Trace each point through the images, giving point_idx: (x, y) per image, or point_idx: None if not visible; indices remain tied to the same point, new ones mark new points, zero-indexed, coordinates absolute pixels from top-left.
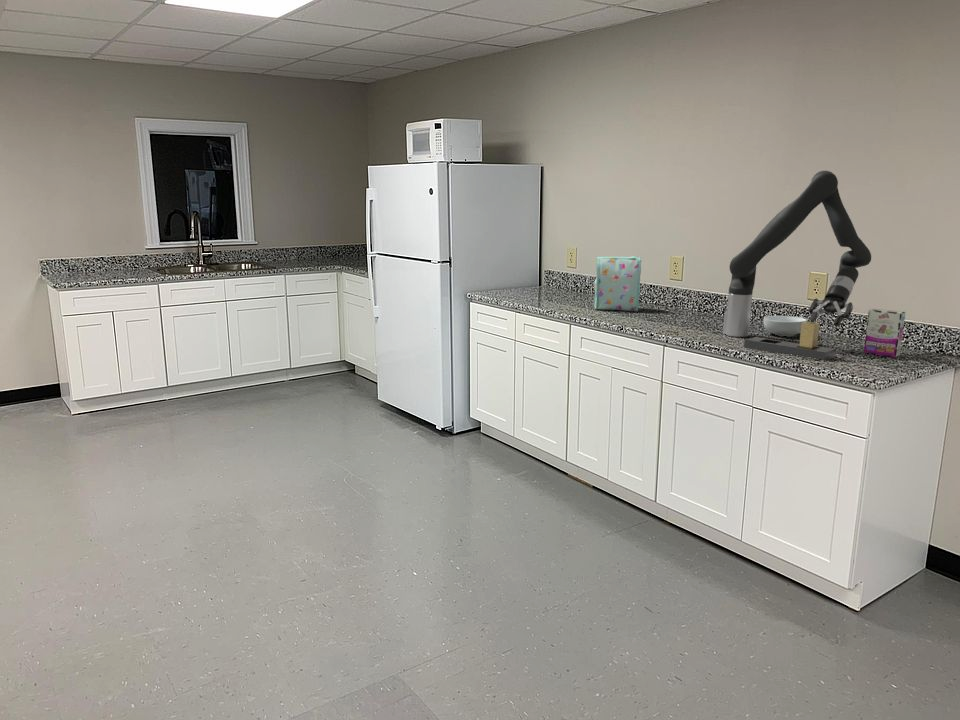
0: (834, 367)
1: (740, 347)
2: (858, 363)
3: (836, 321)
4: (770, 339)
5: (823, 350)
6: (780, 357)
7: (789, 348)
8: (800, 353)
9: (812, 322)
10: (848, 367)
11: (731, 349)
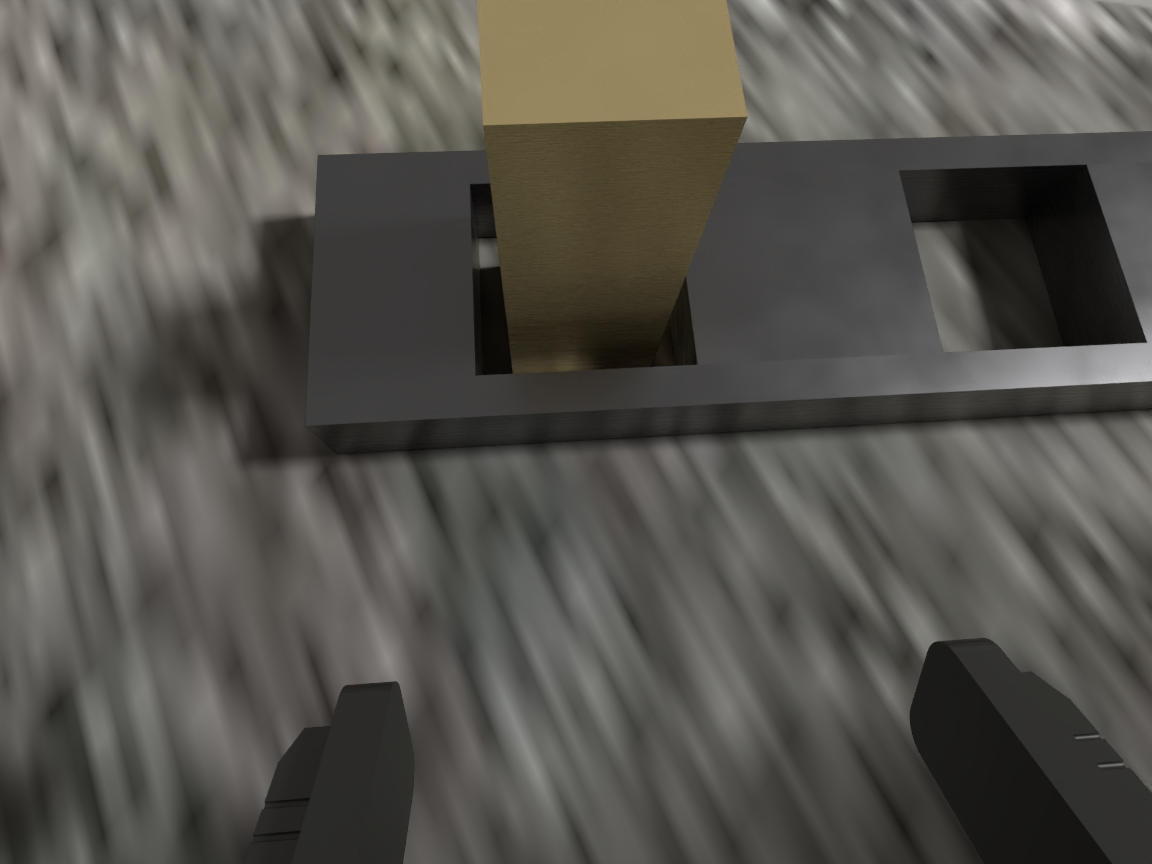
0: (172, 36)
1: None
2: (44, 359)
3: (332, 733)
4: (1112, 365)
5: (374, 234)
6: None
7: None
8: None
9: (597, 58)
10: (76, 120)
11: (1103, 35)
